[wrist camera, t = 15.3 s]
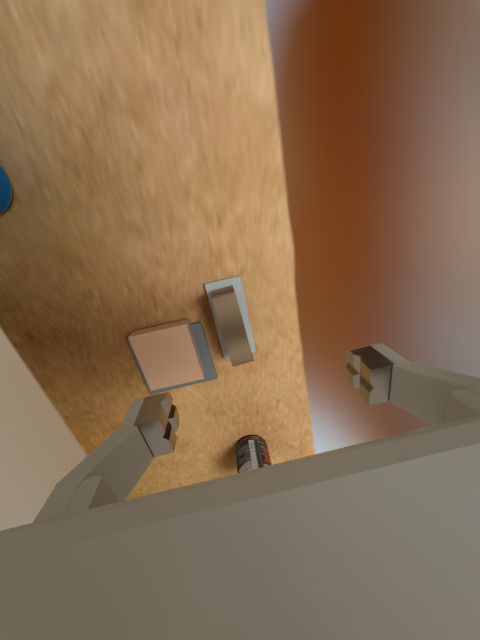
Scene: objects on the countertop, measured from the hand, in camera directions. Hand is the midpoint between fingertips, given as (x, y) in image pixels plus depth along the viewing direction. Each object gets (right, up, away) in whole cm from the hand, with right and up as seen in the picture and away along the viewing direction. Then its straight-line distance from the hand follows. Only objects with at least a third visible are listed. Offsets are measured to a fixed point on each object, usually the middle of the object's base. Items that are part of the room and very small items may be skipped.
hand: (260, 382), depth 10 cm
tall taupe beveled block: (-2, +3, +22) cm, 22 cm away
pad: (-2, +3, +22) cm, 23 cm away
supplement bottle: (+1, -21, +32) cm, 38 cm away
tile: (-12, +2, +20) cm, 24 cm away
